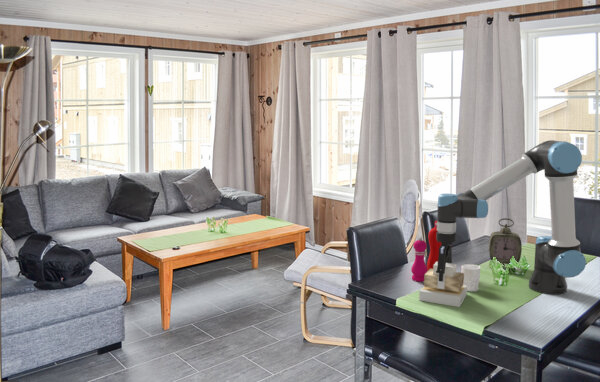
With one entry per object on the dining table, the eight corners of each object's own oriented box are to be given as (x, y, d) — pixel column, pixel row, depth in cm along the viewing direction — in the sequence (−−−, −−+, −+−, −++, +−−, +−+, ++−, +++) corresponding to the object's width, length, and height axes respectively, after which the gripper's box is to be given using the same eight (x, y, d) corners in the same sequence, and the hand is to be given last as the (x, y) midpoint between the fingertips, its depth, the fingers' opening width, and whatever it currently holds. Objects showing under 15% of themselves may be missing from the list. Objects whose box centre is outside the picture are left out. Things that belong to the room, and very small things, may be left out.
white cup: (464, 284, 234) (465, 263, 232) (482, 288, 229) (483, 266, 227) (457, 289, 227) (458, 267, 226) (475, 293, 223) (476, 270, 221)
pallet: (463, 284, 218) (464, 273, 217) (459, 291, 209) (459, 279, 208) (429, 279, 224) (430, 268, 224) (424, 286, 215) (424, 274, 215)
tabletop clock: (488, 269, 257) (491, 219, 253) (487, 264, 265) (490, 215, 262) (520, 272, 253) (523, 220, 249) (518, 266, 261) (521, 217, 258)
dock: (466, 294, 221) (467, 285, 220) (459, 306, 207) (460, 297, 206) (428, 288, 228) (428, 279, 228) (419, 300, 214) (419, 290, 213)
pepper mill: (427, 282, 237) (428, 239, 234) (410, 281, 238) (412, 238, 235) (426, 277, 244) (428, 235, 241) (410, 276, 245) (412, 234, 242)
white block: (455, 273, 217) (456, 264, 216) (452, 277, 212) (453, 267, 211) (436, 270, 220) (436, 261, 220) (432, 274, 215) (433, 265, 215)
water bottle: (446, 277, 245) (448, 224, 241) (424, 272, 251) (426, 221, 248) (454, 272, 252) (456, 221, 248) (432, 268, 258) (434, 218, 255)
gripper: (442, 225, 225) (440, 275, 228) (430, 236, 205) (428, 291, 208) (460, 227, 222) (458, 278, 225) (449, 238, 202) (447, 294, 205)
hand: (443, 284), depth 217 cm, fingers closed on pallet, 10 cm apart
